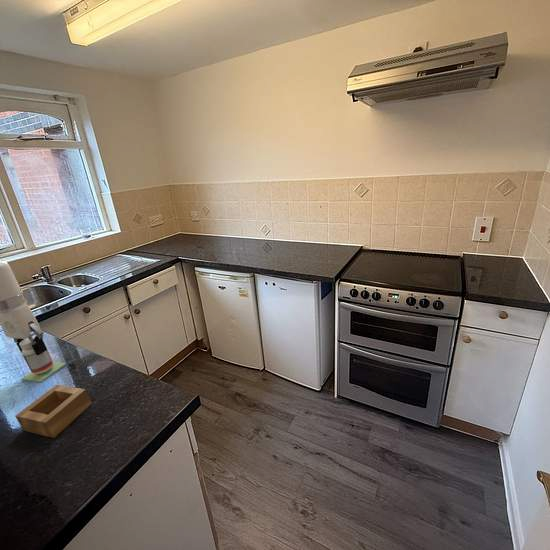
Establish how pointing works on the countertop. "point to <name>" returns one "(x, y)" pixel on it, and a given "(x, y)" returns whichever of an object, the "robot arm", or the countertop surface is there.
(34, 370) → the pill bottle
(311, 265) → the countertop surface
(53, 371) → the mat
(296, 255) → the countertop surface
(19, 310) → the robot arm
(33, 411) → the box
